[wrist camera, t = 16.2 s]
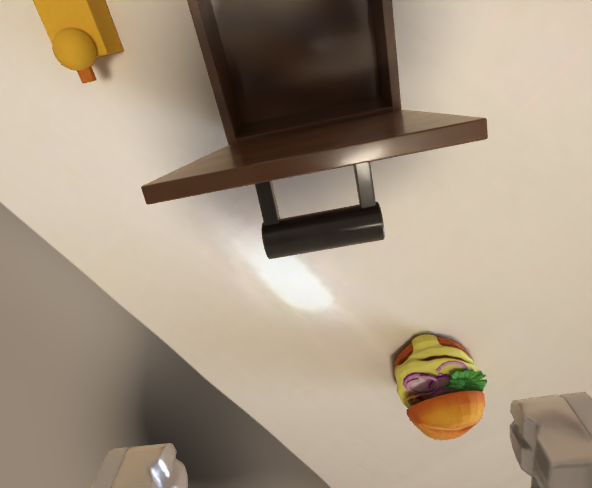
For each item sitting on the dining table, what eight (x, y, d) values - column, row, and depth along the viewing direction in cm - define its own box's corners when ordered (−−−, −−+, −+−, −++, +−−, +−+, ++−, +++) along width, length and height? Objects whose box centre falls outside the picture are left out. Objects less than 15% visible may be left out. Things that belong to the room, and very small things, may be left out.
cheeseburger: (464, 318, 49) (503, 398, 41) (470, 364, 56) (505, 440, 48) (380, 341, 50) (402, 422, 43) (396, 383, 57) (418, 459, 50)
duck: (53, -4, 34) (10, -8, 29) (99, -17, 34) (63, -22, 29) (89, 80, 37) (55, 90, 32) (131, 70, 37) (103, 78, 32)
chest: (181, -84, 31) (157, -103, 26) (365, -135, 30) (377, -165, 25) (239, 131, 39) (229, 148, 34) (388, 100, 38) (401, 113, 32)
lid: (140, 186, 17) (173, 290, 19) (487, 117, 16) (494, 237, 17) (227, 145, 34) (241, 203, 35) (402, 109, 32) (409, 171, 33)
